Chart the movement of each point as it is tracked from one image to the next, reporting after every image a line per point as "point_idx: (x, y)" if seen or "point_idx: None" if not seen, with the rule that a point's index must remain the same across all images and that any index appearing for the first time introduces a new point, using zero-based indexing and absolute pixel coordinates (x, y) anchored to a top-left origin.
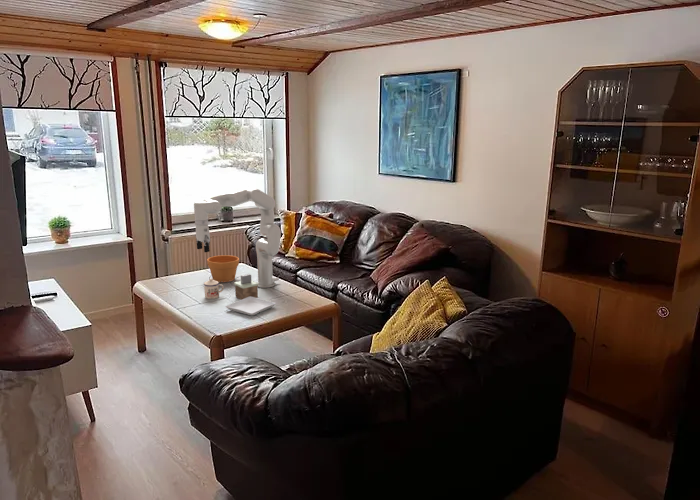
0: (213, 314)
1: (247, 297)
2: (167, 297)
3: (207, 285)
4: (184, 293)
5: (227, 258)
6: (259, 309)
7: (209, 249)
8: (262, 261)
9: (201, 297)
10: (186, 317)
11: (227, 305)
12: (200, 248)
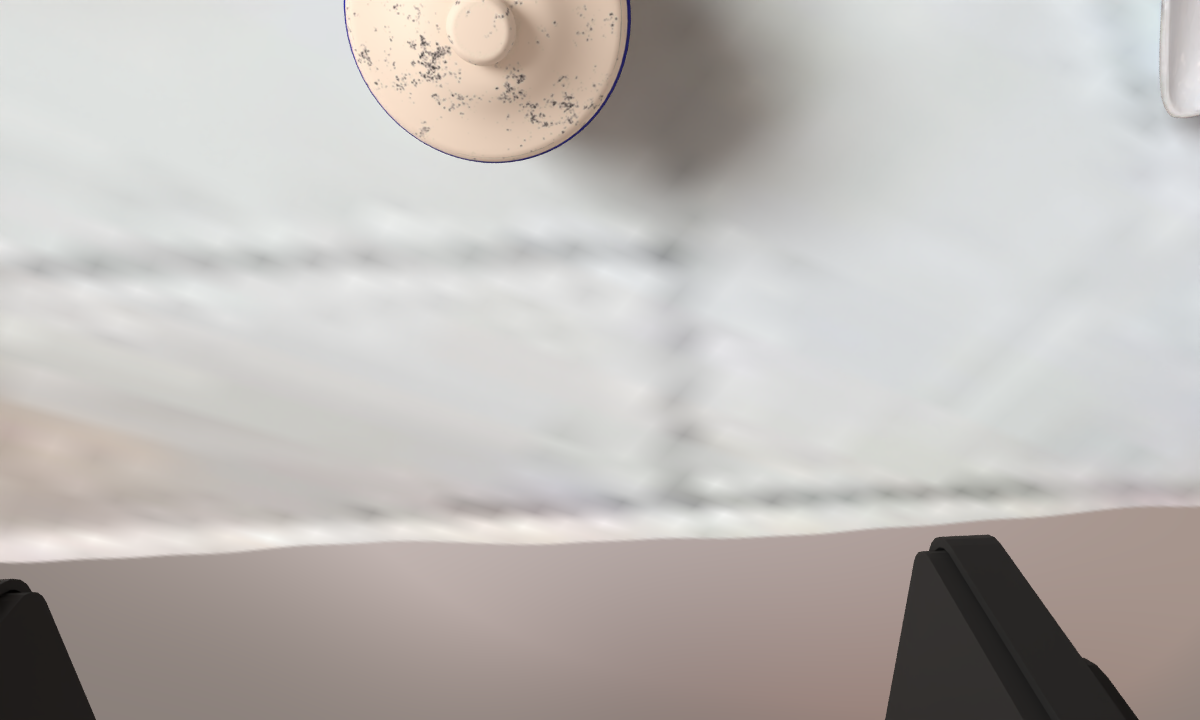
0: (1119, 280)
1: None
2: (233, 468)
3: (565, 136)
4: (157, 262)
5: None
6: None
7: (1046, 612)
8: None
9: None
10: (971, 515)
11: (1168, 76)
12: (67, 680)
